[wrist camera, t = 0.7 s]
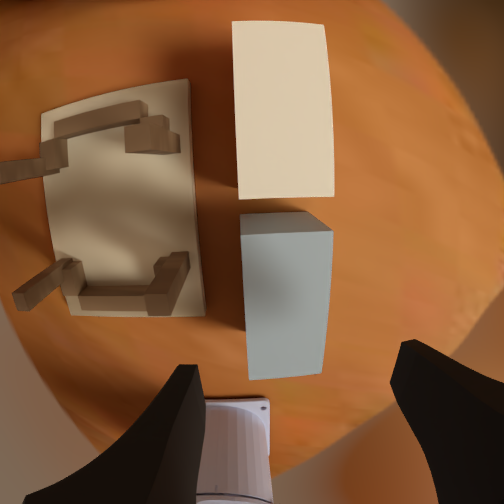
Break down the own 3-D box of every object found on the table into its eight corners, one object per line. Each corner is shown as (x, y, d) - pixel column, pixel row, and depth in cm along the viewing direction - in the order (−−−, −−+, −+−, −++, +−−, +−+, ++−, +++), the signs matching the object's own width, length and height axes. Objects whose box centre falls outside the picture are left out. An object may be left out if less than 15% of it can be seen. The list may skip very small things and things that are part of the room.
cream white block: (306, 186, 16) (334, 196, 12) (238, 188, 16) (238, 199, 12) (301, 58, 14) (323, 25, 9) (233, 58, 14) (231, 21, 9)
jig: (206, 308, 18) (194, 375, 12) (77, 308, 18) (32, 359, 12) (190, 83, 14) (163, 40, 8) (49, 115, 14) (-16, 107, 8)
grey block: (303, 326, 19) (321, 373, 15) (246, 330, 19) (249, 380, 14) (307, 211, 17) (333, 231, 12) (239, 213, 17) (240, 235, 12)
